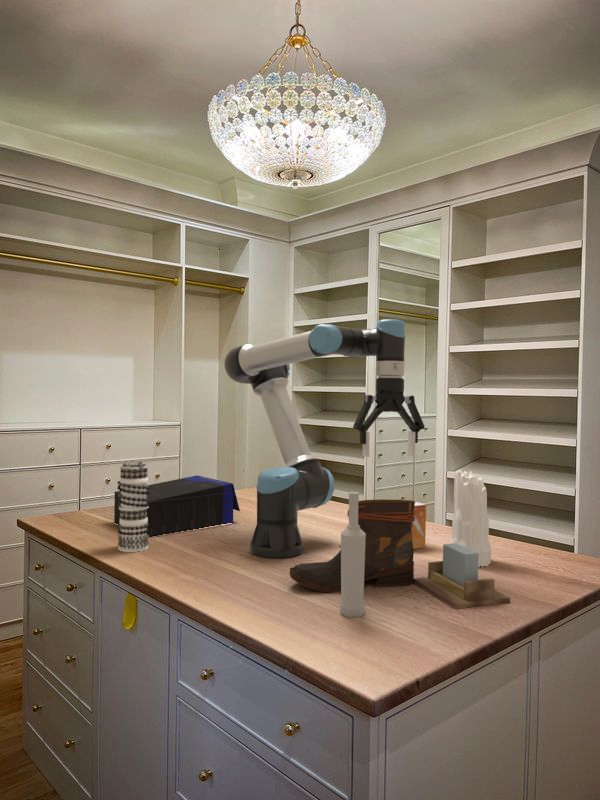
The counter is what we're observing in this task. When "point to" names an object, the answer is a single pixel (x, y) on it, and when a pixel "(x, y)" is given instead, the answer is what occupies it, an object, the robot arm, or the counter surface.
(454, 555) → the light gray rectangular block
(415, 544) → the small box
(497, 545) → the counter surface
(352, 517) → the bottle
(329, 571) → the ankle boot
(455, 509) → the decorative vase
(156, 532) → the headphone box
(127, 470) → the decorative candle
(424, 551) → the counter surface
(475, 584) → the track sill
